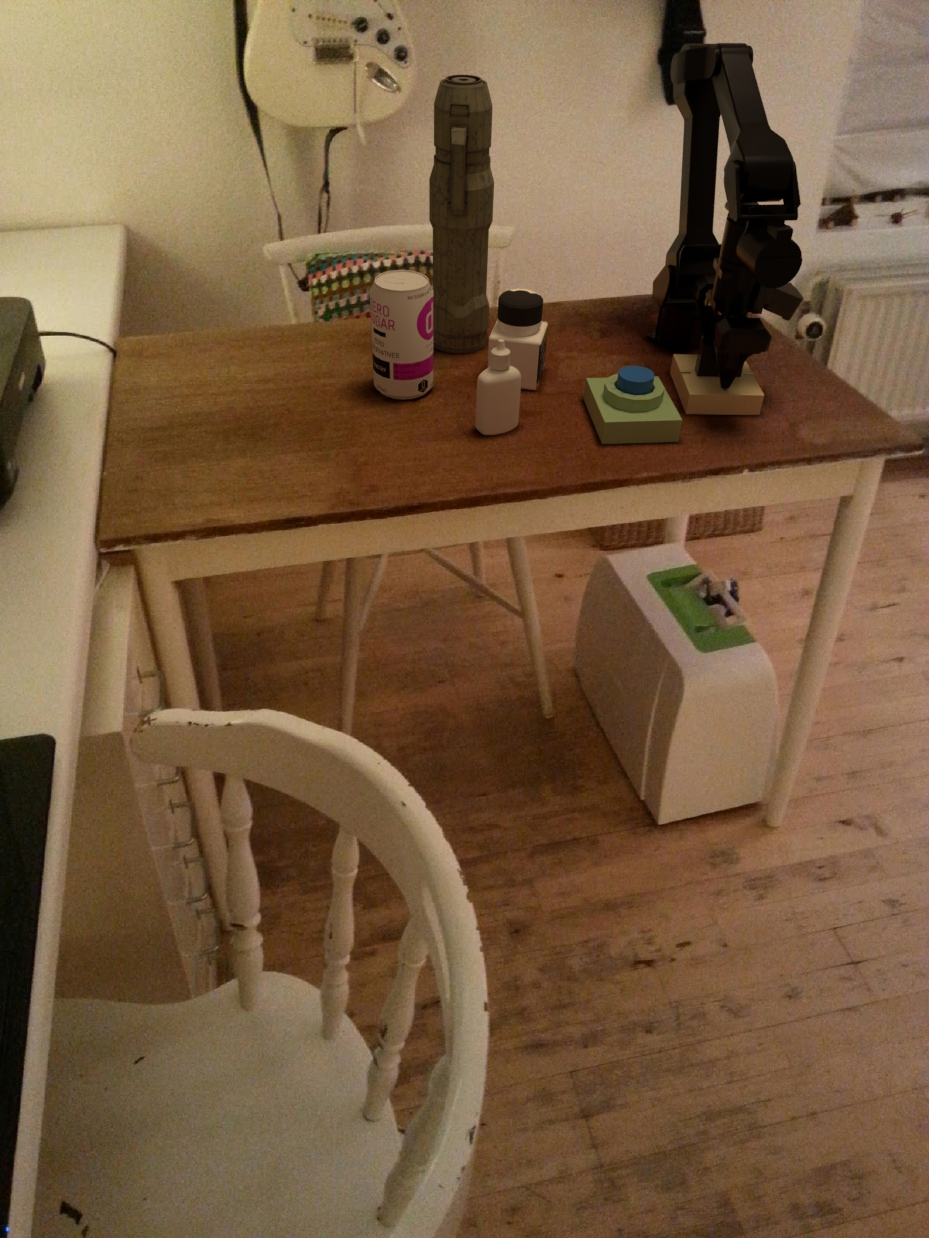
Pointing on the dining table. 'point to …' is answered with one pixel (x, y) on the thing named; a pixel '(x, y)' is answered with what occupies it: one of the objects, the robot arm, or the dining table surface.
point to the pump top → (635, 380)
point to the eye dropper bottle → (498, 394)
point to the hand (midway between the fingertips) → (717, 372)
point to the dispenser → (631, 413)
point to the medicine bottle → (522, 334)
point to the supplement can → (402, 333)
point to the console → (714, 390)
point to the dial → (708, 360)
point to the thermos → (461, 213)
